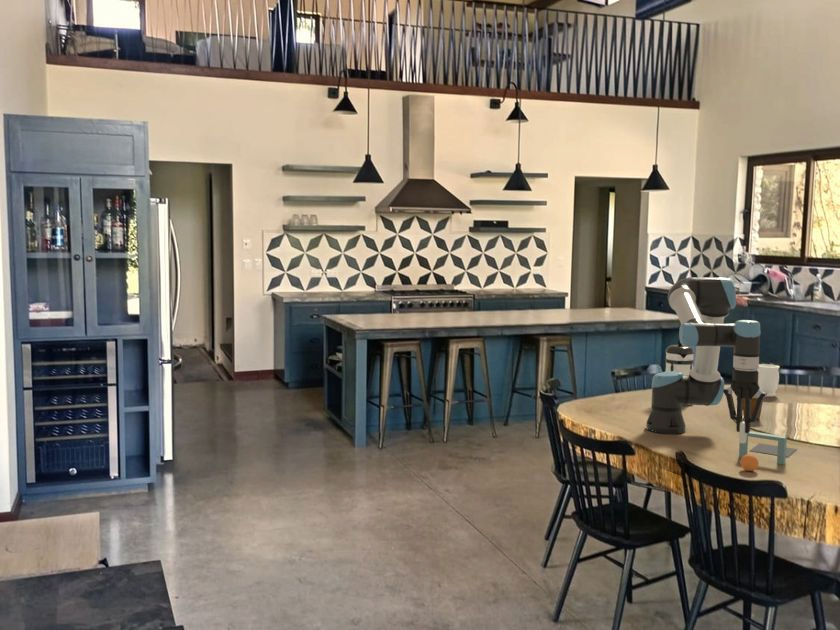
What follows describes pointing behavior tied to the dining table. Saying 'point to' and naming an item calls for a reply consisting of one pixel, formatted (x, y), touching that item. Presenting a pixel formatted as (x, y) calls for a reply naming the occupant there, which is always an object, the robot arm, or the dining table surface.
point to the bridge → (781, 439)
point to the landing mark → (771, 449)
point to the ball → (749, 462)
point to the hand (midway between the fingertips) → (742, 442)
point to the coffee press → (679, 358)
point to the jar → (768, 378)
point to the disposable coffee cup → (754, 400)
